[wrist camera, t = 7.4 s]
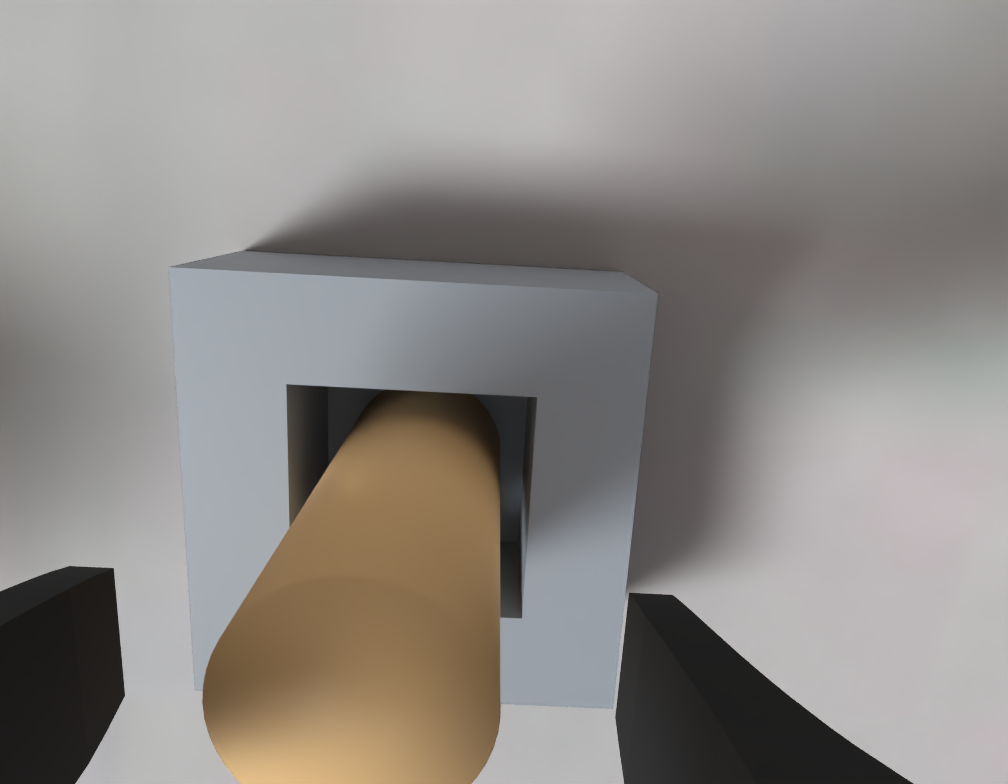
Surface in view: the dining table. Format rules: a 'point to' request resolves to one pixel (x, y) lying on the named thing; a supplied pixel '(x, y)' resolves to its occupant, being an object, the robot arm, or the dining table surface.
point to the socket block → (432, 368)
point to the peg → (374, 612)
